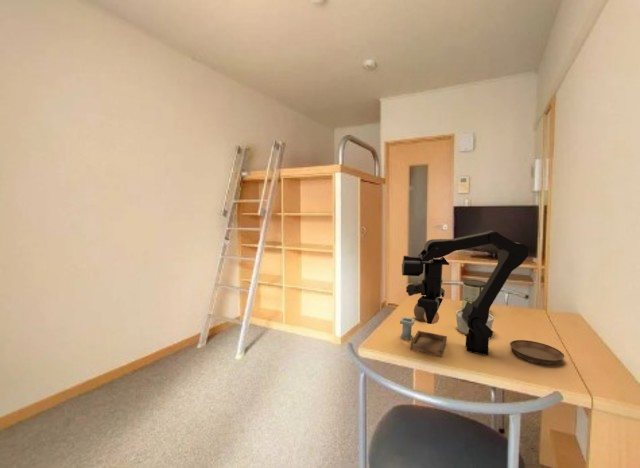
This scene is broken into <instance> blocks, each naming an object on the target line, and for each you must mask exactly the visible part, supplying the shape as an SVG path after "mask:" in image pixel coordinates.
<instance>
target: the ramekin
mask: <svg viewBox="0 0 640 468" xmlns="http://www.w3.org/2000/svg"><path fill="white" fill-rule="evenodd" d="M461 310H463V309H462V308H461V309H458V310H456V312H455V317H456V327H457V329H458V331H460V333H462V334H464V335H466V334H467V333H468V331H469V329H470V328H468V326H467V324H466V323H465V322H464V321H463V319H462V313H463V312H462V311H461ZM493 324H494V316H493V315H492V314H490V313H489V318H488V320H487V323H486V325H487V326H488V327H489V328H490V329H491V330H492V328H493Z"/></svg>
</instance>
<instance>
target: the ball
mask: <svg viewBox="0 0 640 468" xmlns="http://www.w3.org/2000/svg"><path fill="white" fill-rule="evenodd" d="M424 319H425V321H424V322H426V323H427V318H426V314H425V313H424ZM439 320H440V315H439V312H438V311H437V312H436V315H435V317H434V319H433V321H432V323H431V324H430V325H434V324H437V323H438V322H439Z"/></svg>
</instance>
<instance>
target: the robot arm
mask: <svg viewBox="0 0 640 468" xmlns="http://www.w3.org/2000/svg"><path fill="white" fill-rule="evenodd" d="M486 245H492V246H493V247H495V248H496V249H498V250H499V253H498V256H497V264H496V266H495V268H494V269H493V271H492V273H491V275H490V276H489V278H488V280H487V281H486V284H485V286H484V288H483V289H482V291H481V293H480V294H479V296H478V298H477V299H476V300H475V301H474V302H472V303H470V302H467V303H466V306H465V308H464V309H463V310H462V309H460V310H461V311H462V312H463V313H462V319H463V321H464V322H465V323H466V324H467V326H468V328H470V329H469V331H468V333H467V334H465V347H466V351H467V352H470V353H474V354H479V355H485V356H489V344H490V343H489V341H490V339H491V338H492V336H493V333H494V330H492V328H491V329H490V328H489V327H488V326H487V325H486V323H487V320H488V318H489V314H490V309H491V307H492V305H493V303H494V302H495V300H496V298H497V297H498V295H499V293H500V292H501V290H502V289H503V287H504V285H505V284H506V282H507V280H508V278H509V277H510V275H511V274H512V273H513V271H515V270H516V269H517V268H518V267H520V266H521V265H522V264H524V262H525V261H526V260H527V258H528V257H529V255H530V251H529V247H527V245H525V244H524V243H520V242H515V241H513V240H511V239H509V238H507V237H506V236H503V235H501V234H500V233H499V232H498V231H495V230H486V231H485V232H479V233H474V234H470V235H463V236H461V237H460V236H459V237H455V238H444V239H443V238H438V239H437V238H435V239H429V240H427V241H426V242H425V244H424V248H423V249H422V251H421V252H420V253H419V254H418V256H410V255H403V257H402V258H403V259H402V263H401V275H402V276H403V277H404V276H405V277H407V276H409V277H421V275H422V274H423V280H421V282H415V283H411V284H410V283H409V284H408V285H407V286H406V287H405V289H406V293H407V295H408V296H409V297H411V296H414V295H419V294H420V297H419V298H418V299H417V302H416V304H417V306H418V307H423V308H424V310H425V314H426V318H427V322H426V323H427V325H428V324H429V325H432V324H431V323H432V321H433V319H434V317H435V315H436V312H438V310H439V309H440V306H441V304H442V302H443V300H444V297H445V295H446V294H445V292H446V291H445V289H444V288H443V287H442V285H443V266H449V265H450V263H449V262H448V261H447V259H446V256H449V255H451V254H452V253H454V252H456V251H461V250H467V249H470V248H471V249H472V248H477V247H480V246H486Z"/></svg>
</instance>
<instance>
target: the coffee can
mask: <svg viewBox="0 0 640 468" xmlns="http://www.w3.org/2000/svg"><path fill="white" fill-rule="evenodd" d="M462 283H463V285H462V300H461V301H462V303H461V310H462V309H464V308H465V306H466V303H467V302H470V303H472V302H474V301H475V300H476V299H477V298H478V296H479V294H480V293H481V291H482V289H483V288H484V286H485V284H486V283H487V281H483V280H479V279H464V280H463V281H462Z"/></svg>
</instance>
